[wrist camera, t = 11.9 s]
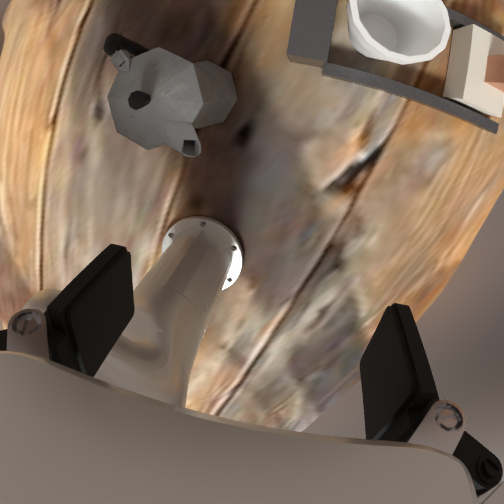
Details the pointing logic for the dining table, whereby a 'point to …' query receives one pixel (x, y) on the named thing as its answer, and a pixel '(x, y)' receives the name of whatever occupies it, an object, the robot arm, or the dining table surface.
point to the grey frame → (316, 54)
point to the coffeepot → (165, 96)
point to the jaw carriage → (476, 70)
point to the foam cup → (398, 29)
